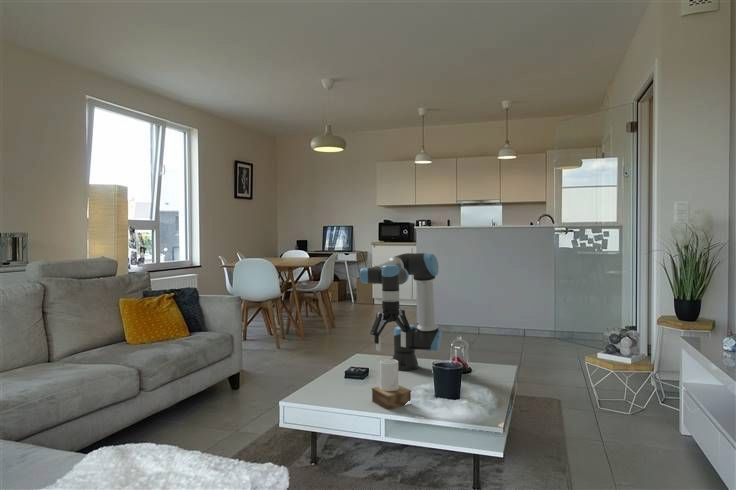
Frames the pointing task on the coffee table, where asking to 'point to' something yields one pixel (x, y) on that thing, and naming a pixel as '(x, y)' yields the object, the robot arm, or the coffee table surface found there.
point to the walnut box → (391, 397)
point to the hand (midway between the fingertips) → (391, 348)
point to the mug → (389, 375)
